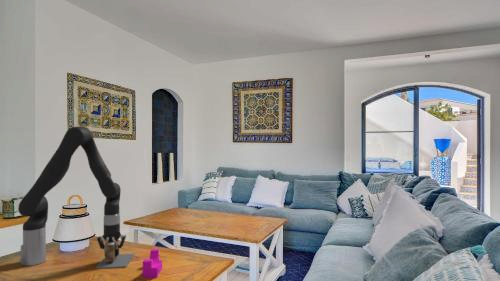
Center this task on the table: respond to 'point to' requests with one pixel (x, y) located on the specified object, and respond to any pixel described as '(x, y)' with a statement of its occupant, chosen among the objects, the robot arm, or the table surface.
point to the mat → (116, 262)
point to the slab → (110, 252)
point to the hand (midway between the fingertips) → (111, 256)
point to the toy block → (152, 265)
